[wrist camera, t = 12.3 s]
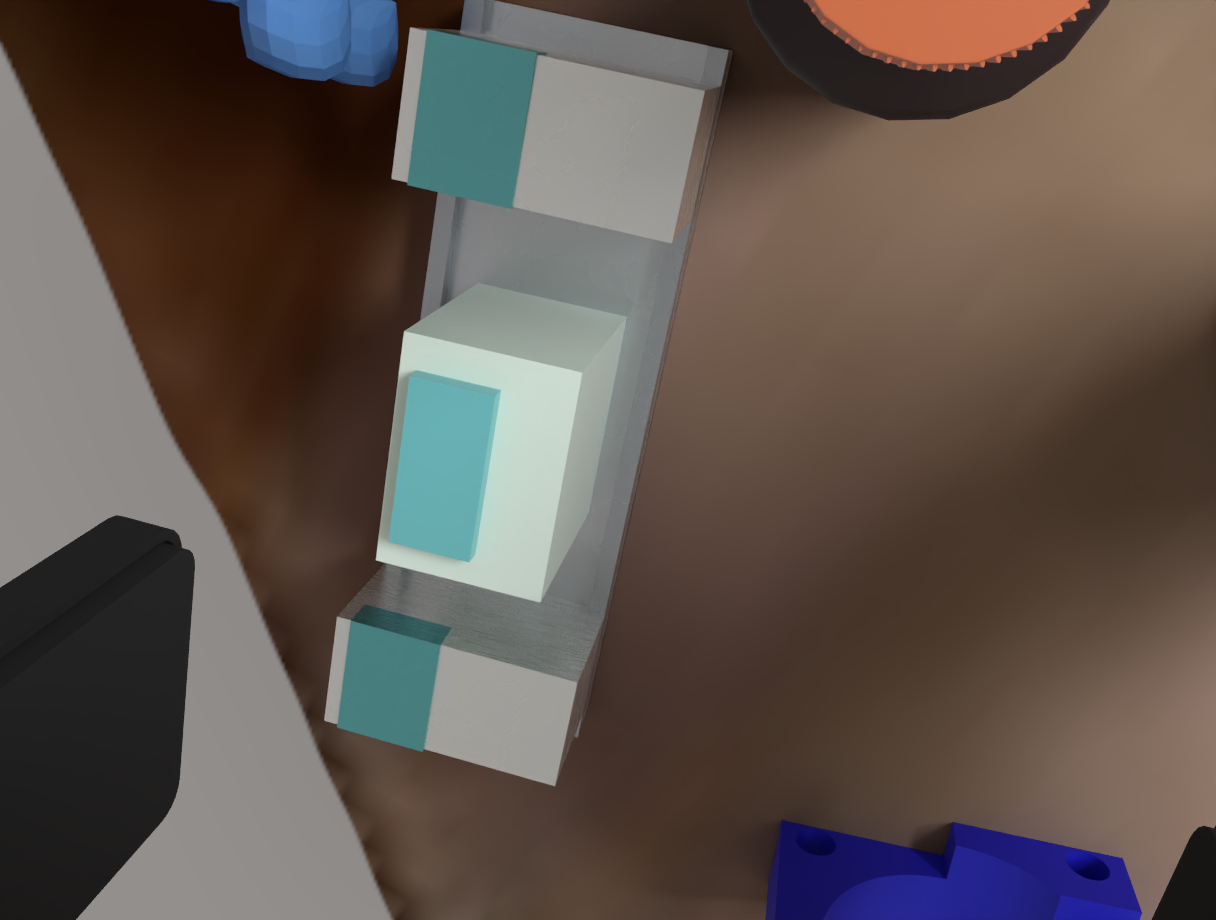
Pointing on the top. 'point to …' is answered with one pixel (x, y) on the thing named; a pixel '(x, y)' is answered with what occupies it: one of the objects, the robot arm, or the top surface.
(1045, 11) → the bottle
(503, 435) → the block
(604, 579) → the rail
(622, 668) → the top surface
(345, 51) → the grapes
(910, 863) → the blue mounting bracket
